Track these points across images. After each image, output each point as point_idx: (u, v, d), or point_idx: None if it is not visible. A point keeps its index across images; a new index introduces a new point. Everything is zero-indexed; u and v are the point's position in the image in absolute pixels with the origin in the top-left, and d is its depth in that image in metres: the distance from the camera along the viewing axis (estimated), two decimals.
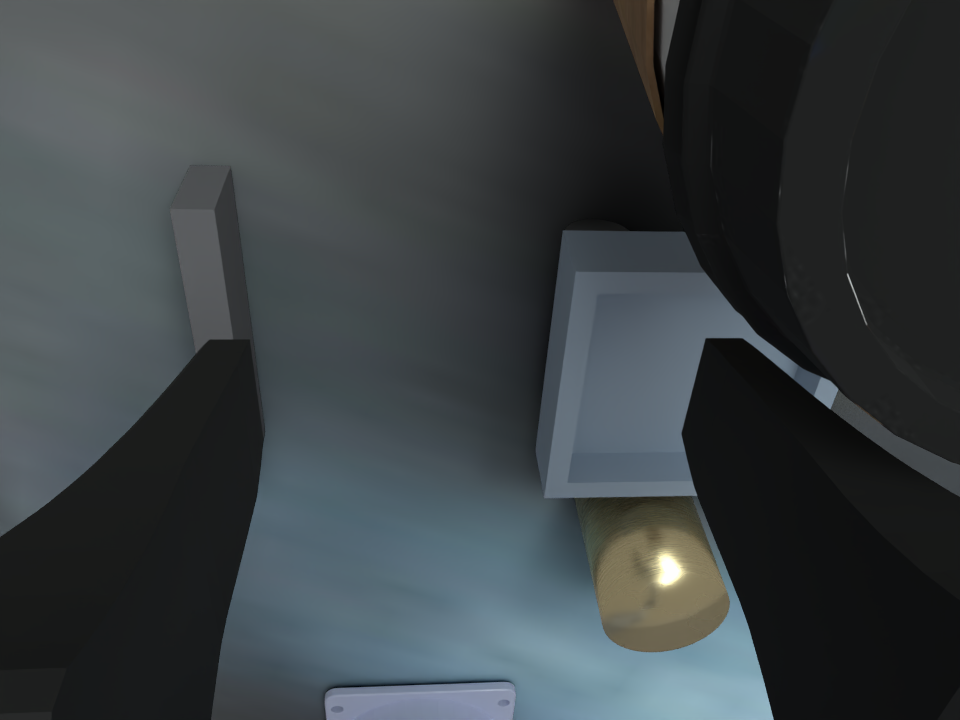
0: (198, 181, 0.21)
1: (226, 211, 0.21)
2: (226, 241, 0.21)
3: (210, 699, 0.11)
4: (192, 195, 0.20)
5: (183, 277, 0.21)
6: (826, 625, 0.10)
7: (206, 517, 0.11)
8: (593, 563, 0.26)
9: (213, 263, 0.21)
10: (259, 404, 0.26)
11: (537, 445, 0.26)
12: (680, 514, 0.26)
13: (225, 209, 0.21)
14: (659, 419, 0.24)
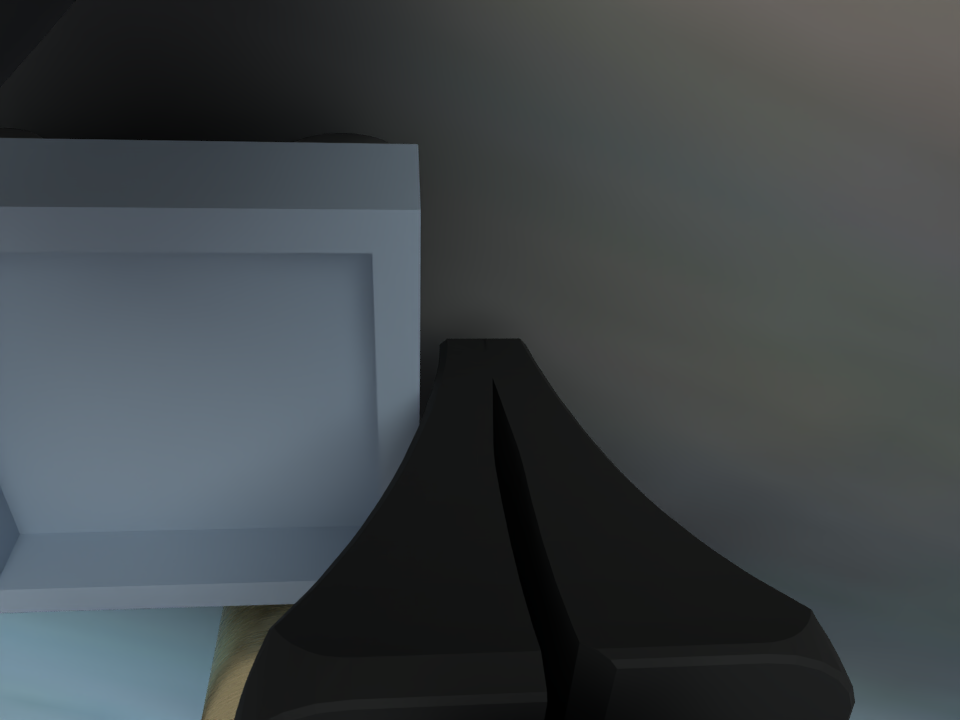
0: None
1: None
2: None
3: None
4: None
5: None
6: None
7: None
8: None
9: None
10: None
11: None
12: None
13: None
14: (168, 478, 0.14)
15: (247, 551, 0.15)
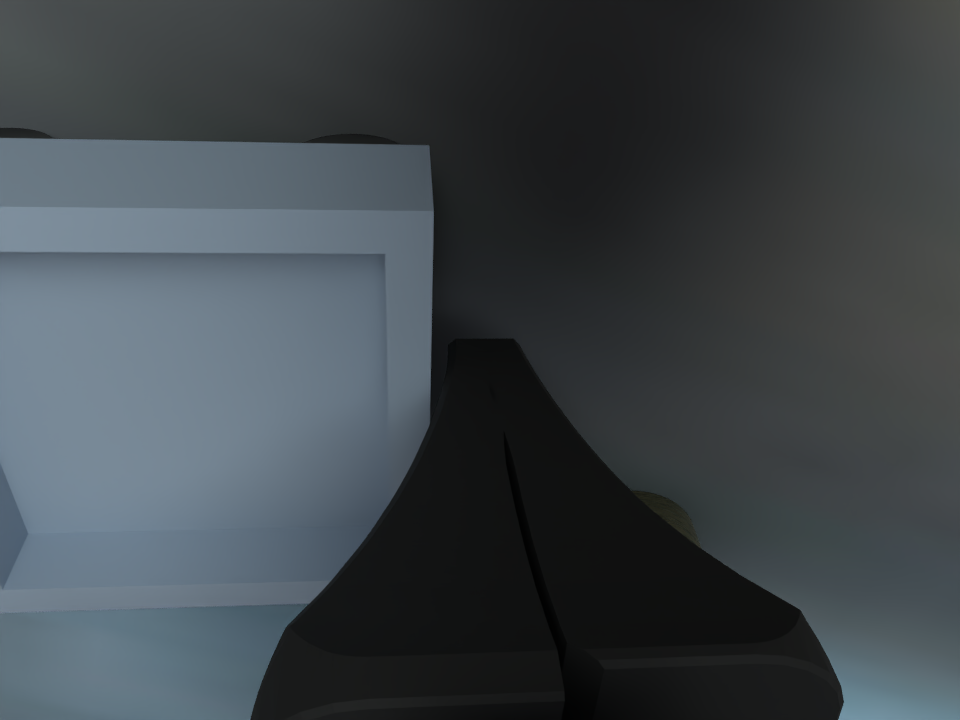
0: None
1: None
2: None
3: None
4: None
5: None
6: None
7: None
8: None
9: None
10: None
11: None
12: None
13: None
14: (176, 478, 0.14)
15: (255, 551, 0.15)
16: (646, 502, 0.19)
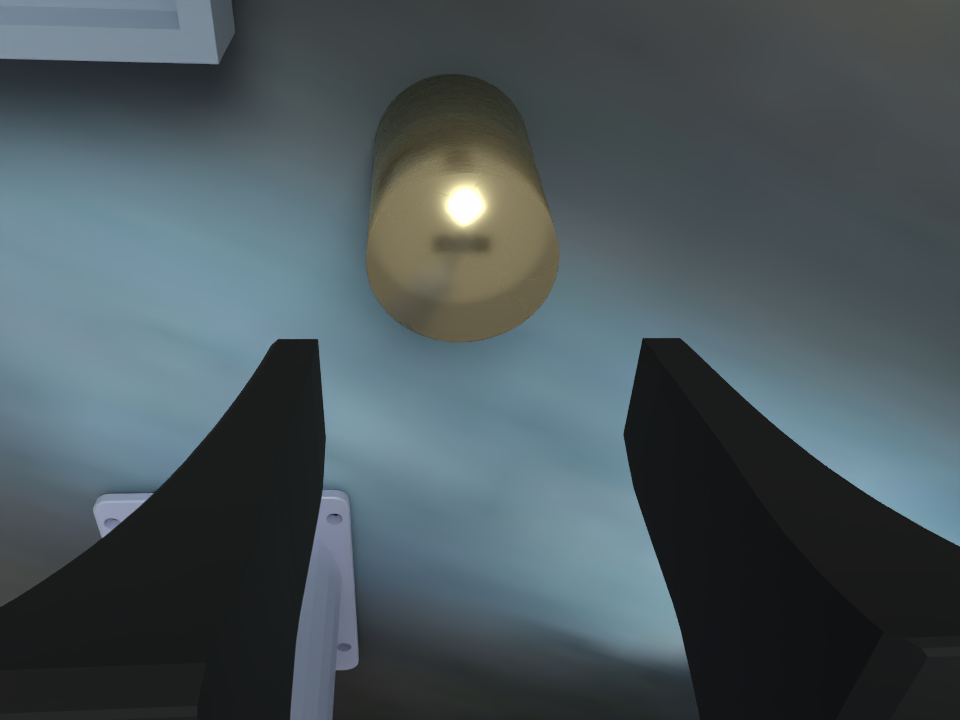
0: None
1: None
2: None
3: (290, 696, 0.11)
4: None
5: None
6: (743, 628, 0.10)
7: (288, 515, 0.11)
8: (370, 208, 0.18)
9: None
10: None
11: None
12: (497, 134, 0.18)
13: None
14: None
15: (55, 15, 0.16)
16: (471, 81, 0.20)
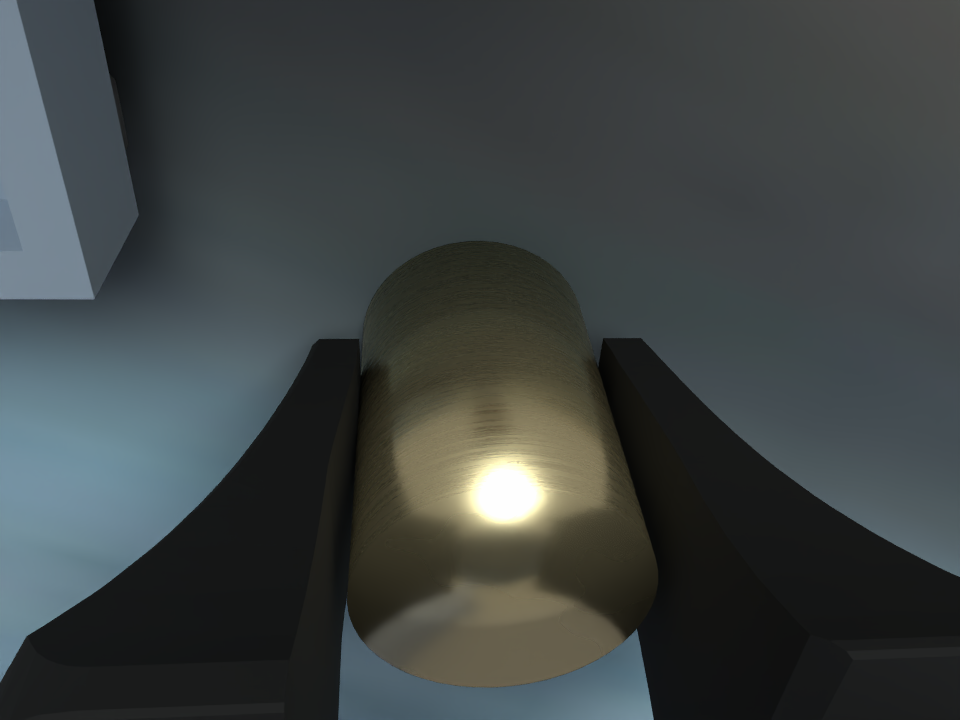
0: None
1: None
2: None
3: (338, 694, 0.11)
4: None
5: None
6: (691, 629, 0.10)
7: (337, 515, 0.11)
8: (354, 481, 0.11)
9: None
10: None
11: None
12: (554, 370, 0.11)
13: None
14: None
15: None
16: (505, 253, 0.13)
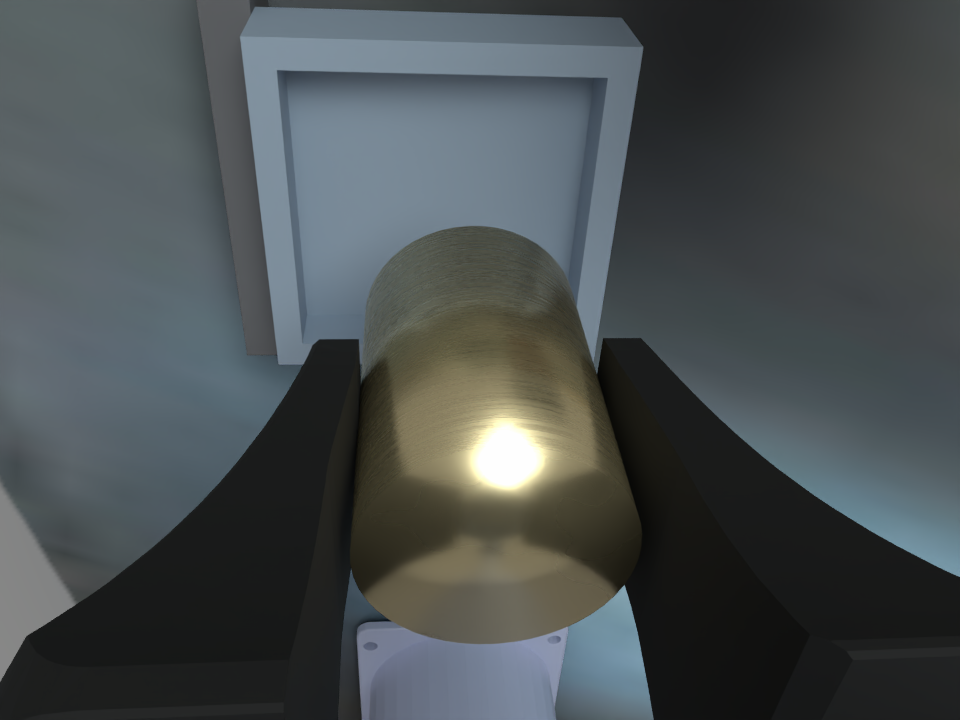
0: None
1: None
2: None
3: (338, 694, 0.11)
4: None
5: (207, 69, 0.17)
6: (691, 630, 0.10)
7: (337, 514, 0.11)
8: None
9: None
10: None
11: None
12: (519, 337, 0.12)
13: None
14: None
15: None
16: (477, 235, 0.14)
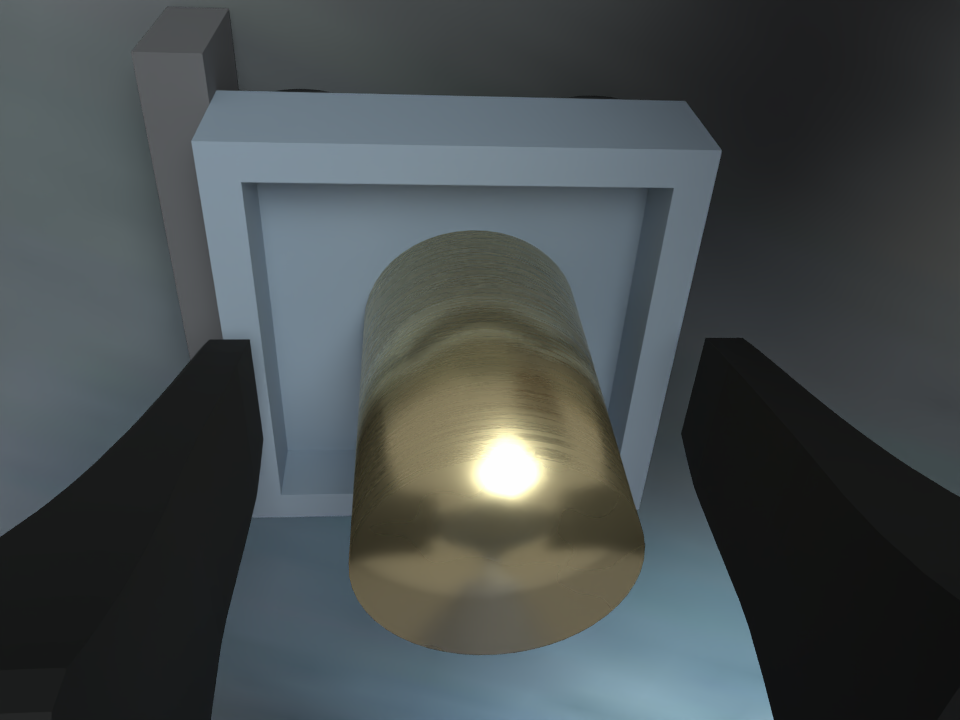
0: (178, 23, 0.13)
1: (222, 72, 0.14)
2: None
3: (210, 699, 0.11)
4: (167, 37, 0.13)
5: (155, 170, 0.13)
6: (826, 625, 0.10)
7: (206, 517, 0.11)
8: None
9: None
10: None
11: None
12: (520, 345, 0.12)
13: (220, 68, 0.14)
14: None
15: None
16: (477, 240, 0.14)
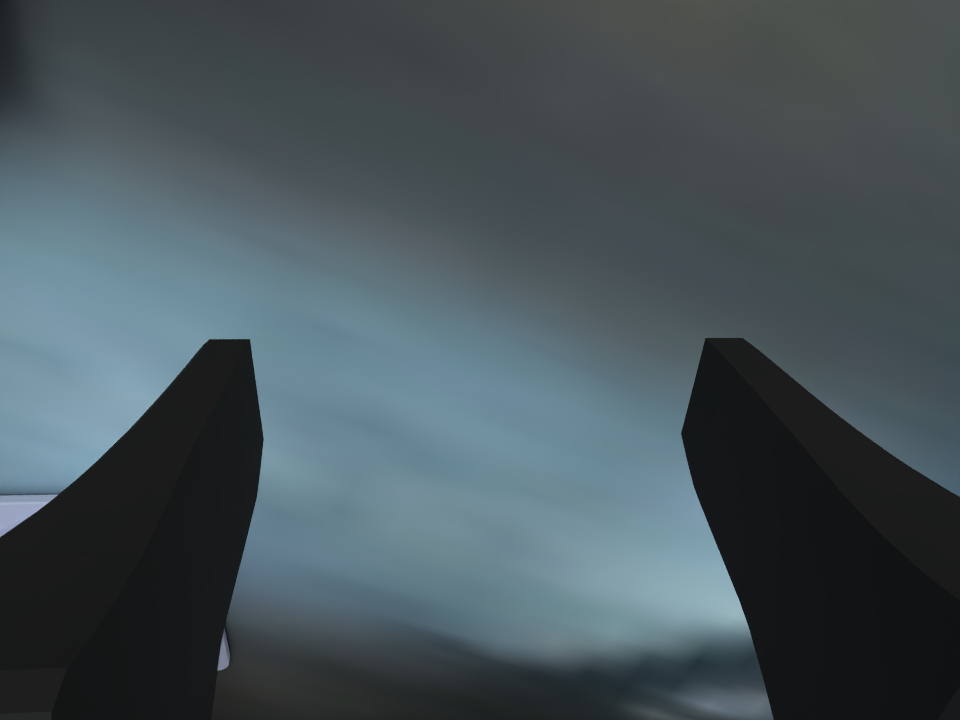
0: None
1: None
2: None
3: (210, 699, 0.11)
4: None
5: None
6: (826, 625, 0.10)
7: (206, 517, 0.11)
8: None
9: None
10: None
11: None
12: None
13: None
14: None
15: None
16: None
